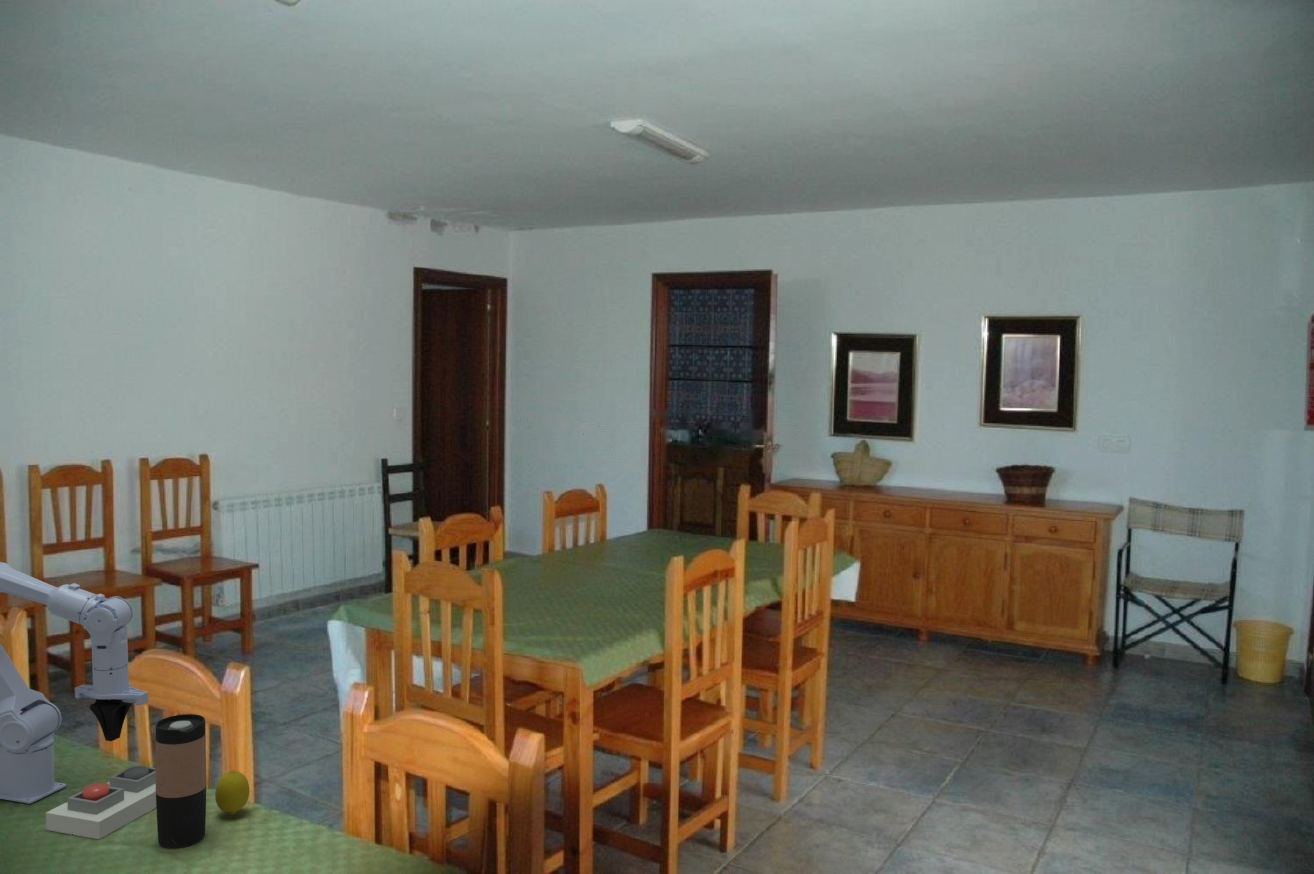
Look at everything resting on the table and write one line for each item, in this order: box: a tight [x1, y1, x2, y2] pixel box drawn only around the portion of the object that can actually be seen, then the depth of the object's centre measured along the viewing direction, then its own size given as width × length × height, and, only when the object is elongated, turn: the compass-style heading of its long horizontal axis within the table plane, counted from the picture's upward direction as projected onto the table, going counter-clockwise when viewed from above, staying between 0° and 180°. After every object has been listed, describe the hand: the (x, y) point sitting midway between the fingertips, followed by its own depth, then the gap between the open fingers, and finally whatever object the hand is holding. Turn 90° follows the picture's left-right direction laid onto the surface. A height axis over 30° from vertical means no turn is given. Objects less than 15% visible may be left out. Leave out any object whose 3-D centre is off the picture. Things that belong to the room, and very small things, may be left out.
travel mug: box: [155, 713, 208, 849], centre depth 165 cm, size 8×8×20 cm
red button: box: [82, 782, 109, 801], centre depth 171 cm, size 4×4×2 cm
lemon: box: [214, 769, 250, 815], centre depth 175 cm, size 6×6×8 cm
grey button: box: [123, 765, 149, 780], centre depth 180 cm, size 4×4×2 cm
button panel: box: [45, 764, 156, 840], centre depth 175 cm, size 11×19×5 cm, turn 165°
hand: (112, 738), depth 181 cm, fingers closed
